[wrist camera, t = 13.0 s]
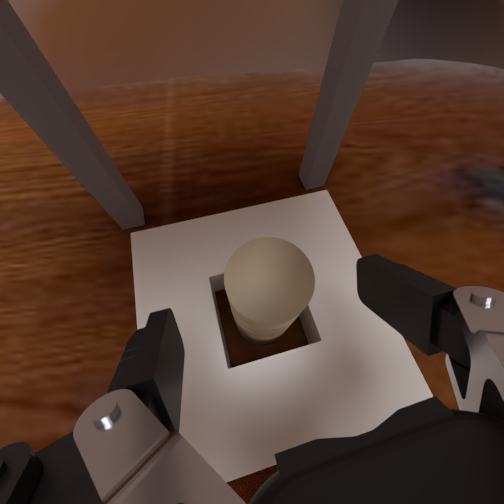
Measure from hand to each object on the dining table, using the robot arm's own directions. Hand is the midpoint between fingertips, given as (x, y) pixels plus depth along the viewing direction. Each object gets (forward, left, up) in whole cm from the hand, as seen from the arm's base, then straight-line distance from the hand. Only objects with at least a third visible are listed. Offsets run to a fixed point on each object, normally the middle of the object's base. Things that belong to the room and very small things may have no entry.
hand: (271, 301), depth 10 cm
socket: (0, +1, -10) cm, 10 cm away
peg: (0, +1, -10) cm, 10 cm away
